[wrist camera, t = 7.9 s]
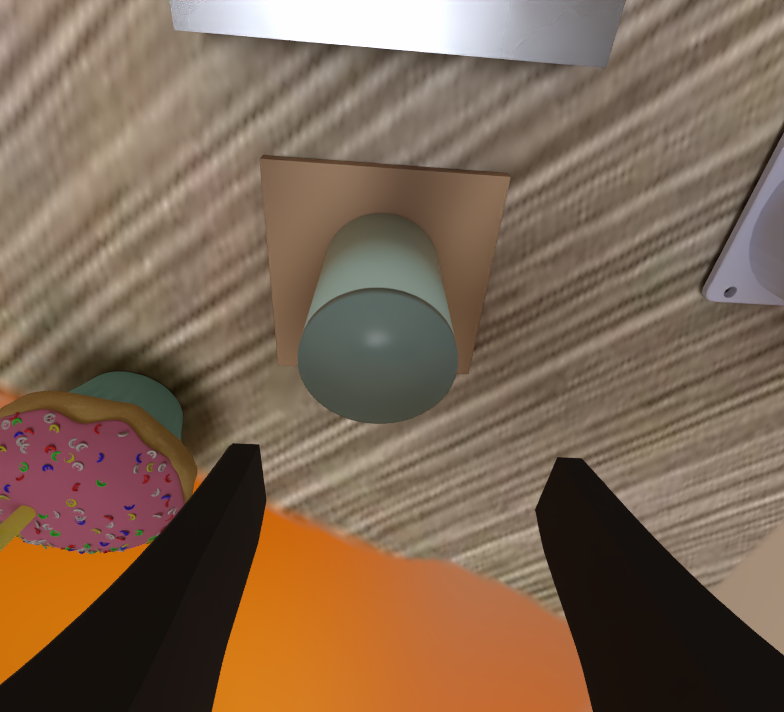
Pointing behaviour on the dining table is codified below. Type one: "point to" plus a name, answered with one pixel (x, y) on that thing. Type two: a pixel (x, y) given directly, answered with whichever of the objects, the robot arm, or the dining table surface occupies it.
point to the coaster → (368, 196)
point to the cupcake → (93, 465)
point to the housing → (423, 25)
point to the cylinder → (379, 324)
